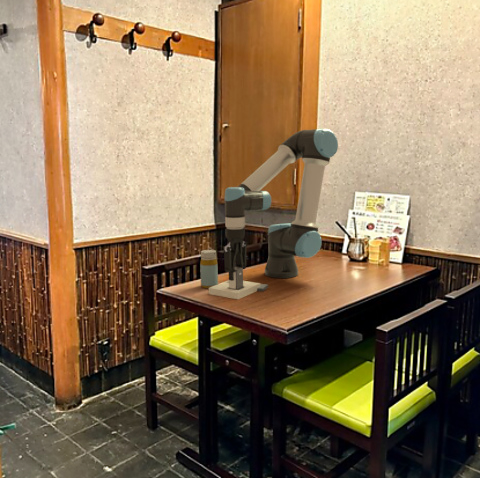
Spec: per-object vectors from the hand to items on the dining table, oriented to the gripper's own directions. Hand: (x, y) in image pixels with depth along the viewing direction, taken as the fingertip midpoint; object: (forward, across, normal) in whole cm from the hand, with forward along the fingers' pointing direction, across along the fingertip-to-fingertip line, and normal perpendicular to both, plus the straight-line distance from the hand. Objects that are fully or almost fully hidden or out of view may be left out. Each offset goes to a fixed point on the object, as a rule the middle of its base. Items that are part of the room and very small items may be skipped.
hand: (236, 286), depth 192 cm
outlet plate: (+3, -2, -2) cm, 4 cm away
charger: (+3, 0, 0) cm, 3 cm away
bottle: (+3, -3, -15) cm, 16 cm away
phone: (+3, -11, +5) cm, 13 cm away
